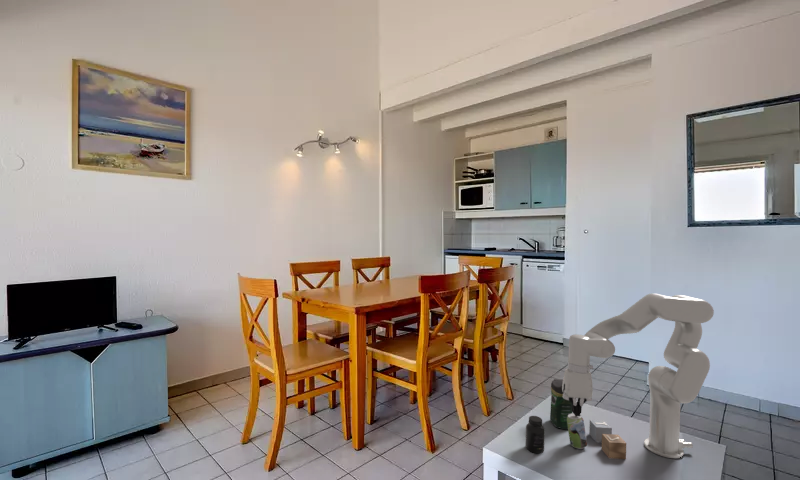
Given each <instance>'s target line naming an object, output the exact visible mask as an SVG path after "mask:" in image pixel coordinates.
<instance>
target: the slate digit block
mask: <svg viewBox="0 0 800 480" xmlns="http://www.w3.org/2000/svg"><path fill="white" fill-rule="evenodd" d="M588 433H589V436H590V437H591V438H592V439H593V440H594V442H595V443H602V434H613V428H612V426H611V425H609V423H608V422H607V421H606V420H599V419H589V432H588Z"/></svg>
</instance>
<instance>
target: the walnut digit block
mask: <svg viewBox="0 0 800 480" xmlns="http://www.w3.org/2000/svg"><path fill="white" fill-rule="evenodd" d="M601 450H602V452H604V454H605V455H606V456H607V458H608V459H616V460H617V459H618V460H626V459H627V442H626V441H625V440H624V439H623V438H622V437H621V436H620V435H619V434H615V433H614V434H613V433H612V434H602V442H601Z"/></svg>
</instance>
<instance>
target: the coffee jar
mask: <svg viewBox="0 0 800 480" xmlns="http://www.w3.org/2000/svg"><path fill="white" fill-rule="evenodd" d="M562 384H563V379H559V378H557V379H556V378H554V379H553V380H552V381H551V385H550V392H551V393H550V395H551V396H550V397H551V399H550V413H549V414H550V415H549V420H550V421H551V423H552V424H553V426H554V427H556V428H558V429H562V430H568V425H567V417H568V415H569V414H572V413H573V412H572V403H571V401H570V400H566V399H564V398H563V393H564V392H563V391H562Z"/></svg>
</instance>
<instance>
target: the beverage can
mask: <svg viewBox="0 0 800 480" xmlns="http://www.w3.org/2000/svg"><path fill="white" fill-rule="evenodd" d="M567 425H568V429H567V431H568V438H569V443H570V446H572V447H573V448H575V449H577V450H583V449H585V448H586V447H587V446H588V441H587V440H588V439H587V433H586V428H585V426H586V425H585V421H584V418H583V416H582V415H581V414H580V416H575V415H574V413H573V412H572V414H569V415H568V417H567Z"/></svg>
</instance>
